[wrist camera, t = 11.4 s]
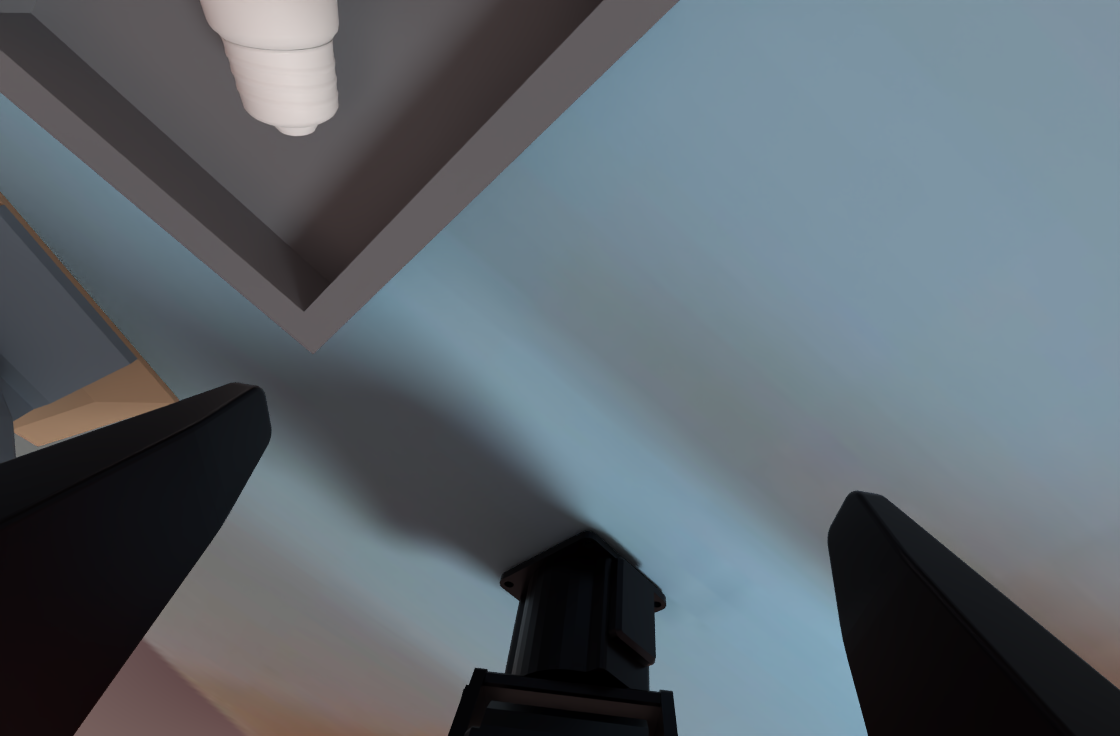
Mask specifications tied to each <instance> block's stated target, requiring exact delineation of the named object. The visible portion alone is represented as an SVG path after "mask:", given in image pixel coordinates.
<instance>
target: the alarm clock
mask: <svg viewBox="0 0 1120 736" xmlns="http://www.w3.org/2000/svg"><path fill="white" fill-rule="evenodd" d="M178 401H179V399H178V398H177V397H176V396H175V395H174V393H173V392H172V391H171V390H170V389H169V388H168V386H167V385H166V384H165V383H164V382H163V381H162V379H161V378H160V377H159V376H158V375H157V374H156V372H155V371H154V370H153V369H152V368H151V367H150V365H149V364H148V363H147V362H146V361H145V360H144V358H143V357H142V356H141V355H140V354H139V353H138V352H137V350H136V349H135V348H134V347H133V346H132V345H131V343H130V342H129V341H128V340H127V339H126V338H125V336H124V335H123V334H122V333H121V332H120V331H119V329H118V328H117V327H116V326H115V325H114V324H113V322H112V321H111V320H110V319H109V318H108V317H107V315H106V314H105V313H104V312H103V311H102V310H101V308H100V307H99V306H98V305H97V304H96V303H95V301H94V300H93V299H92V298H91V297H90V296H89V294H88V293H87V292H86V291H85V290H84V289H83V287H82V286H81V285H80V284H79V283H78V282H77V280H76V279H75V278H74V277H73V276H72V275H71V273H70V272H69V271H68V270H67V269H66V268H65V266H64V265H63V264H62V263H61V262H60V261H59V259H58V258H57V257H56V256H55V255H54V254H53V252H52V251H51V250H50V249H49V248H48V247H47V246H46V244H45V243H44V242H43V241H42V240H41V239H40V237H39V236H38V235H37V234H36V233H35V232H34V230H33V229H32V228H31V227H30V226H29V225H28V223H27V222H26V221H25V220H24V219H23V218H22V216H21V215H20V214H19V213H18V212H17V211H16V209H15V208H14V207H13V206H12V205H11V204H10V202H9V201H8V200H7V199H6V198H5V197H4V195H3V194H2V193H1V192H0V463H3V462H6V461H9V460H11V459H14V458H16V453H15V439H14V433H16V434H17V435H19V436H21V437H22V438H24V439H26V440H27V441H29V442H31V443H33V444H34V445H36V446H41V445H45V444H48V443H51V442H54V441H57V440H61V439H64V438H67V437H70V436H73V435H76V434H80V433H83V432H86V431H89V430H92V429H96V428H99V427H102V426H105V425H108V424H111V423H115V422H118V421H121V420H124V419H127V418H130V417H134V416H137V415H140V414H143V413H146V412H149V411H152V410H155V409H158V408H161V407H163V406H166V405H169V404H172V403H175V402H178Z"/></svg>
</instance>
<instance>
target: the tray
mask: <svg viewBox="0 0 1120 736" xmlns="http://www.w3.org/2000/svg"><path fill="white" fill-rule="evenodd" d="M678 1H679V0H337V4H338V17H339V27H338V32H337V33H336V34H335V35H334V39H333V52H334V58H335V73H336V76H337V83H336V84H337V91H338V109H337V111H336V113H335V114H334V116H333V117H332V118H330V119H329V120H327V121H325V122H323V123H321V124H318V125H317V127H316V129H315V131H314V132H313V133H311V134H308V135H304V136H290V135H286V134H283V133H281V132H280V131H279V130H278V129H277V128H276V127H275V126H272V125H269V124H266V123H263V122H261V121H259V120H257V119H255V118H253V117H252V116H251V115H250V114H249V113H248V112H247V111H246V110H245V109H244V106H243V103H242V100H241V97H240V94H239V91H238V90H237V87H236V81H235V78H234V75H233V74H232V72H231V68H230V62H229V59H228V57H227V56H226V54H225V49H224V48H225V47H224V44H223V41H222V39H221V37H220V35H219V34H218V33H217V32H215V31H214V30H213V29H212V28H211V27H210V25H209V24H208V22H207V20H206V17H205V14H204V11H203V8H202V5H201V3H200V0H0V92H1V93H2V94H3V95H4V96H5V97H7V98H8V99H9V100H10V101H11V102H13V103H14V104H15V105H16V106H17V107H19V108H20V109H21V110H22V111H23V112H25V113H26V114H27V115H28V116H29V117H31V118H32V119H33V120H34V121H35V122H36V123H38V124H39V125H40V126H41V127H42V128H44V129H45V130H46V131H47V132H48V133H50V134H51V135H52V136H53V137H54V138H56V139H57V140H58V141H59V142H60V143H62V144H63V145H64V146H65V147H66V148H68V149H69V150H70V151H71V152H72V153H73V154H75V155H76V156H77V157H78V158H79V159H81V160H82V161H83V162H84V163H85V164H87V165H88V166H89V167H90V168H91V169H93V170H94V171H95V172H96V173H97V174H99V175H100V176H101V177H102V178H103V179H104V180H106V181H107V182H108V183H109V184H110V185H112V186H113V187H114V188H115V189H116V190H118V191H119V192H120V193H121V194H122V195H124V196H125V197H126V198H127V199H128V200H130V201H131V202H132V203H133V204H134V205H136V206H137V207H138V208H139V209H140V210H141V211H143V212H144V213H145V214H146V215H147V216H149V217H150V218H151V219H152V220H153V221H155V222H156V223H157V224H158V225H159V226H161V227H162V228H163V229H164V230H165V231H167V232H168V233H169V234H170V235H171V236H172V237H174V238H175V239H176V240H177V241H178V242H180V243H181V244H182V245H183V246H184V247H186V248H187V249H188V250H189V251H190V252H192V253H193V254H194V255H195V256H196V257H198V258H199V259H200V260H201V261H202V262H204V263H205V264H206V265H207V266H208V267H209V268H211V269H212V270H213V271H214V272H215V273H217V274H218V275H219V276H220V277H221V278H223V279H224V280H225V281H226V282H227V283H229V284H230V285H231V286H232V287H233V288H235V289H236V290H237V291H238V292H239V293H240V294H242V295H243V296H244V297H245V298H246V299H248V300H249V301H250V302H251V303H252V304H254V305H255V306H256V307H257V308H258V309H260V310H261V311H262V312H263V313H264V314H266V315H267V316H268V317H269V318H270V319H272V320H273V321H274V322H275V323H276V324H277V325H279V326H280V327H281V328H282V329H283V330H285V331H286V332H287V333H288V334H289V335H291V336H292V337H293V338H294V339H295V340H297V341H298V342H299V343H300V344H301V345H303V346H304V347H305V348H306V349H307V350H308V351H310V352H311V353H312V354H314V353H315V352H316V351H317V350H318V349H319V348H320V347H321V346H322V345H323V344H324V343H325V342H326V341H327V340H328V339H330V338H331V337H332V336H333V335H334V334H335V333H336V332H337V331H338V330H339V329H340V328H341V327H342V326H343V325H344V324H345V323H346V322H347V321H348V320H349V319H350V318H351V317H352V316H353V315H354V314H355V313H356V312H357V311H358V310H360V309H361V308H362V307H363V306H364V305H365V304H366V303H367V302H368V301H369V300H370V299H371V298H372V297H373V296H374V295H375V294H376V293H377V292H378V291H379V290H380V289H381V288H382V287H383V286H384V285H385V284H386V283H387V282H388V281H389V280H391V279H392V278H393V277H394V276H395V275H396V274H397V273H398V272H399V271H400V270H401V269H402V268H403V267H404V266H405V265H406V264H407V263H408V262H409V261H410V260H411V259H412V258H413V257H414V256H415V255H416V254H417V253H418V252H419V251H421V250H422V249H423V248H424V247H425V246H426V245H427V244H428V243H429V242H430V241H431V240H432V239H433V238H434V237H435V236H436V235H437V234H438V233H439V232H440V231H441V230H442V229H443V228H444V227H445V226H446V225H447V224H448V223H449V222H451V221H452V220H453V219H454V218H455V217H456V216H457V215H458V214H459V213H460V212H461V211H462V210H463V209H464V208H465V207H466V206H467V205H468V204H469V203H470V202H471V201H472V200H473V199H474V198H475V197H476V196H477V195H478V194H479V193H481V192H482V191H483V190H484V189H485V188H486V187H487V186H488V185H489V184H490V183H491V182H492V181H493V180H494V179H495V178H496V177H497V176H498V175H499V174H500V173H501V172H502V171H503V170H504V169H505V168H506V167H507V166H508V165H509V164H511V163H512V162H513V161H514V160H515V159H516V158H517V157H518V156H519V155H520V154H521V153H522V152H523V151H524V150H525V149H526V148H527V147H528V146H529V145H530V144H531V143H532V142H533V141H534V140H535V139H536V138H537V137H538V136H539V135H541V134H542V133H543V132H544V131H545V130H546V129H547V128H548V127H549V126H550V125H551V124H552V123H553V122H554V121H555V120H556V119H557V118H558V117H559V116H560V115H561V114H562V113H563V112H564V111H565V110H566V109H567V108H568V107H569V106H571V105H572V104H573V103H574V102H575V101H576V100H577V99H578V98H579V97H580V96H581V95H582V94H583V93H584V92H585V91H586V90H587V89H588V88H589V87H590V86H591V85H592V84H593V83H594V82H595V81H596V80H597V79H598V78H599V77H600V76H602V75H603V74H604V73H605V72H606V71H607V70H608V69H609V68H610V67H611V66H612V65H613V64H614V63H615V62H616V61H617V60H618V59H619V58H620V57H621V56H622V55H623V54H624V53H625V52H626V51H627V50H628V49H629V48H630V47H632V46H633V45H634V44H635V43H636V42H637V41H638V40H639V39H640V38H641V37H642V36H643V35H644V34H645V33H646V32H647V31H648V30H649V29H650V28H651V27H652V26H653V25H654V24H655V23H656V22H657V21H658V20H659V19H660V18H662V17H663V16H664V15H665V14H666V13H667V12H668V11H669V10H670V9H671V8H672V7H673V6H674V5H675V4H676V3H677V2H678Z"/></svg>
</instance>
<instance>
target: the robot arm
mask: <svg viewBox="0 0 1120 736" xmlns="http://www.w3.org/2000/svg"><path fill="white" fill-rule="evenodd" d="M270 438H271V423H270V418H269V412H268V407H267V401H266V396H265V393H264V391H263V389H262V388H260V387H258V386H255V385H249V384H243V383H236V382H235V383H229V384H226V385H224V386H221V387H218V388H215V389H212V390H209V391H206V392H204V393H201V394H198V395H195V396H192V397H189V398H186V399H183V400H181V401H178V402H175V403H172V404H169V405H166V406H163V407H161V408H158V409H155V410H152V411H149V412H146V413H143V414H140V415H138V416H135V417H132V418H129V419H126V420H123V421H120V422H118V423H115V424H112V425H109V426H106V427H103V428H100V429H97V430H95V431H92V432H89V433H86V434H83V435H80V436H77V437H75V438H72V439H69V440H66V441H63V442H60V443H57V444H54V445H52V446H49V447H46V448H43V449H40V450H37V451H34V452H31V453H29V454H26V455H23V456H20V457H17V458H14V459H11V460H9V461H6V462H3V463H0V736H73V735H74V734H75V733H76V731H77V730H78V728H79V727H80V726H81V724H82V723H83V721H84V720H85V719H86V717H87V716H88V714H89V713H90V712H91V710H92V709H93V707H94V706H95V704H96V703H97V702H98V700H99V699H100V697H101V696H102V695H103V693H104V692H105V690H106V689H107V688H108V686H109V684H110V683H111V682H112V680H113V679H114V678H115V676H116V675H117V674H118V672H119V671H120V669H121V668H122V666H123V665H124V664H125V662H126V661H127V659H128V658H129V656H130V655H131V654H132V652H133V651H134V650H135V648H136V647H137V645H138V644H139V642H140V641H141V640H142V638H143V637H144V636H145V634H146V633H147V631H148V630H149V629H150V627H151V626H152V624H153V623H154V621H155V620H156V619H157V617H158V616H159V614H160V613H161V612H162V610H163V609H164V607H165V606H166V605H167V603H168V602H169V600H170V599H171V598H172V596H173V595H174V593H175V592H176V591H177V589H178V588H179V586H180V585H181V584H182V582H183V581H184V579H185V578H186V576H187V575H188V574H189V572H190V571H191V569H192V568H193V567H194V565H195V564H196V562H197V561H198V560H199V558H200V557H201V555H202V554H203V553H204V551H205V550H206V548H207V547H208V546H209V544H210V543H211V541H212V540H213V538H214V537H215V535H216V534H217V532H218V531H219V529H220V528H221V526H222V525H223V523H224V521H225V520H226V518H227V517H228V515H229V513H230V511H231V510H232V508H233V506H234V504H235V503H236V501H237V499H238V497H239V495H240V494H241V492H242V490H243V488H244V487H245V485H246V483H247V481H248V479H249V478H250V476H251V474H252V472H253V471H254V469H255V467H256V465H257V463H258V462H259V460H260V458H261V456H262V455H263V453H264V451H265V449H266V447H267V446H268V444H269V441H270ZM587 541H590V542H587ZM828 550H829V556H830V563H831V569H832V576H833V582H834V588H835V595H836V601H837V608H838V614H839V621H840V627H841V632H842V637H843V642H844V646H845V651H846V655H847V659H848V662H849V666H850V670H851V674H852V677H853V681H854V685H855V688H856V692H857V696H858V700H859V703H860V707H861V711H862V714H863V718H864V722H865V726H866V729H867V733H868V736H1120V690H1119V689H1118V688H1117V687H1116V686H1114V685H1113V684H1112V683H1111V682H1110V681H1108V680H1107V679H1106V678H1105V677H1103V676H1102V675H1101V674H1100V673H1099V672H1097V671H1096V670H1095V669H1094V668H1092V667H1091V666H1090V665H1089V664H1088V663H1086V662H1085V661H1084V660H1083V659H1082V658H1080V657H1079V656H1078V655H1077V654H1075V653H1074V652H1073V651H1072V650H1071V649H1069V648H1068V647H1067V646H1066V645H1064V644H1063V643H1062V642H1061V641H1060V640H1058V639H1057V638H1056V637H1055V636H1053V635H1052V634H1051V633H1050V632H1049V631H1047V630H1046V629H1045V628H1044V627H1043V626H1041V625H1040V624H1039V623H1038V622H1036V621H1035V620H1034V619H1033V618H1032V617H1030V616H1029V615H1028V614H1027V613H1025V612H1024V611H1023V610H1022V609H1021V608H1019V607H1018V606H1017V605H1016V604H1015V603H1013V602H1012V601H1011V600H1010V599H1008V598H1007V597H1006V596H1005V595H1004V594H1002V593H1001V592H1000V591H999V590H997V589H996V588H995V587H994V586H993V585H991V584H990V583H989V582H988V581H986V580H985V579H984V578H983V577H982V576H980V575H979V574H978V573H977V572H976V571H974V570H973V569H972V568H971V567H969V566H968V565H967V564H966V563H965V562H963V561H962V560H961V559H960V558H958V557H957V556H956V555H955V554H954V553H952V552H951V551H950V550H949V549H947V548H946V547H945V546H944V545H943V544H941V543H940V542H939V541H938V540H937V539H935V538H934V537H933V536H932V535H930V534H929V533H928V532H927V531H926V530H924V529H923V528H922V527H921V526H919V525H918V524H917V523H916V522H915V521H913V520H912V519H911V518H910V517H909V516H907V515H906V514H905V513H904V512H902V511H901V510H900V509H899V508H898V507H896V506H895V505H894V504H893V503H891V502H890V501H889V500H888V499H887V498H885V497H884V496H882V495H879V494H875V493H869V492H863V491H853V492H851V493H849V494H848V496H847V497H846V499H845V500H844V502H843V504H842V506H841V508H840V510H839V511H838V513H837V515H836V517H835V519H834V521H833V522H832V524H831V526H830V529H829V532H828ZM500 586H501V587H502V588H503V589H505V590H506V591H507V592H509V593H510V594H511V595H512V596H514V597H515V598H516V599H518V600H519V606H518V611H517V615H516V620H515V625H514V630H513V635H512V640H511V645H510V650H509V655H508V660H507V665H506V670H505V673H497V672H488V671H487V669H482V668H475V669H474V672H473V675H472V678H471V680H470V683H469V685H466V687H465V689H463V693H462V697H461V701H460V703H459V706H458V709H457V712H456V715H455V717H454V720H453V723H452V726H451V729H450V731H449V734H448V736H678V733H677V724H676V716H675V707H674V699H673V691H667V690H660V691H659V692H656V691H649V666H650V665H653V664H654V663H655V658H656V648H655V615H654V613H655V612H658V611H660V610H662V609H664V608H665V607H666V597H665V595H664V594H663V593H662V592H661V591H659V590H658V589H657V588H656V587H655V586H654V585H653V584H652V583H651V582H650V581H648V580H647V579H646V578H645V577H644V576H643V575H642V574H641V573H639V572H638V571H637V570H636V569H635V568H634V567H633V566H632V565H630V564H629V563H628V562H627V561H626V560H625V559H624V558H622V557H621V556H620V555H619V554H618V553H617V552H616V551H615V550H614V549H612V548H611V547H610V546H609V545H608V544H607V543H606V542H605V541H603V540H602V539H601V538H600V537H599V536H598V535H597V534H595V533H594V532H590V531H585V532H582V533H580V534H578V535H576V536H574V537H572V538H570V539H568V540H566V541H565V542H563V543H561V544H559V545H557V546H555V547H553V548H551V549H549V550H547V551H545V552H543V553H541V554H540V555H538V556H536V557H534V558H532V559H530V560H528V561H526V562H524V563H522V564H520V565H518V566H516V567H515V568H513V569H511V570H509V571H507V572H505V573H503V574H502V576H501V580H500Z"/></svg>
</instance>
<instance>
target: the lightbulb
mask: <svg viewBox="0 0 1120 736" xmlns="http://www.w3.org/2000/svg"><path fill="white" fill-rule="evenodd" d="M200 3H201V5H202V8H203V11H204V14H205V17H206V20H207V22H208V24H209V25H210V27H211V28H212V29H213V30H214V31H215V32H217V33H218V34H219V35H220V37H221V39H222V41H223V44H224V47H225V48H224V49H225V54H226V56H227V57H228V59H229V62H230V68H231V72H232V74H233V75H234V78H235V81H236V87H237V90H238V91H239V94H240V97H241V100H242V103H243V106H244V109H245V110H246V111H247V112H248V113H249V114H250V115H251V116H252V117H253V118H255V119H257V120H259V121H261V122H263V123H266V124H269V125H272V126H275V127H276V128H277V129H278V130H279V131H280V132H281V133H283V134H286V135H290V136H304V135H308V134H311V133H313V132H314V131H315V129H316V127H317V125H318V124H321V123H323V122H325V121H327V120H329V119H330V118H332V117H333V116H334V114H335V113H336V111H337V109H338V91H337V84H336V83H337V76H336V73H335V58H334V52H333V39H334V35H335V34H336V33H337V32H338V27H339V17H338V4H337V0H200Z"/></svg>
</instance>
